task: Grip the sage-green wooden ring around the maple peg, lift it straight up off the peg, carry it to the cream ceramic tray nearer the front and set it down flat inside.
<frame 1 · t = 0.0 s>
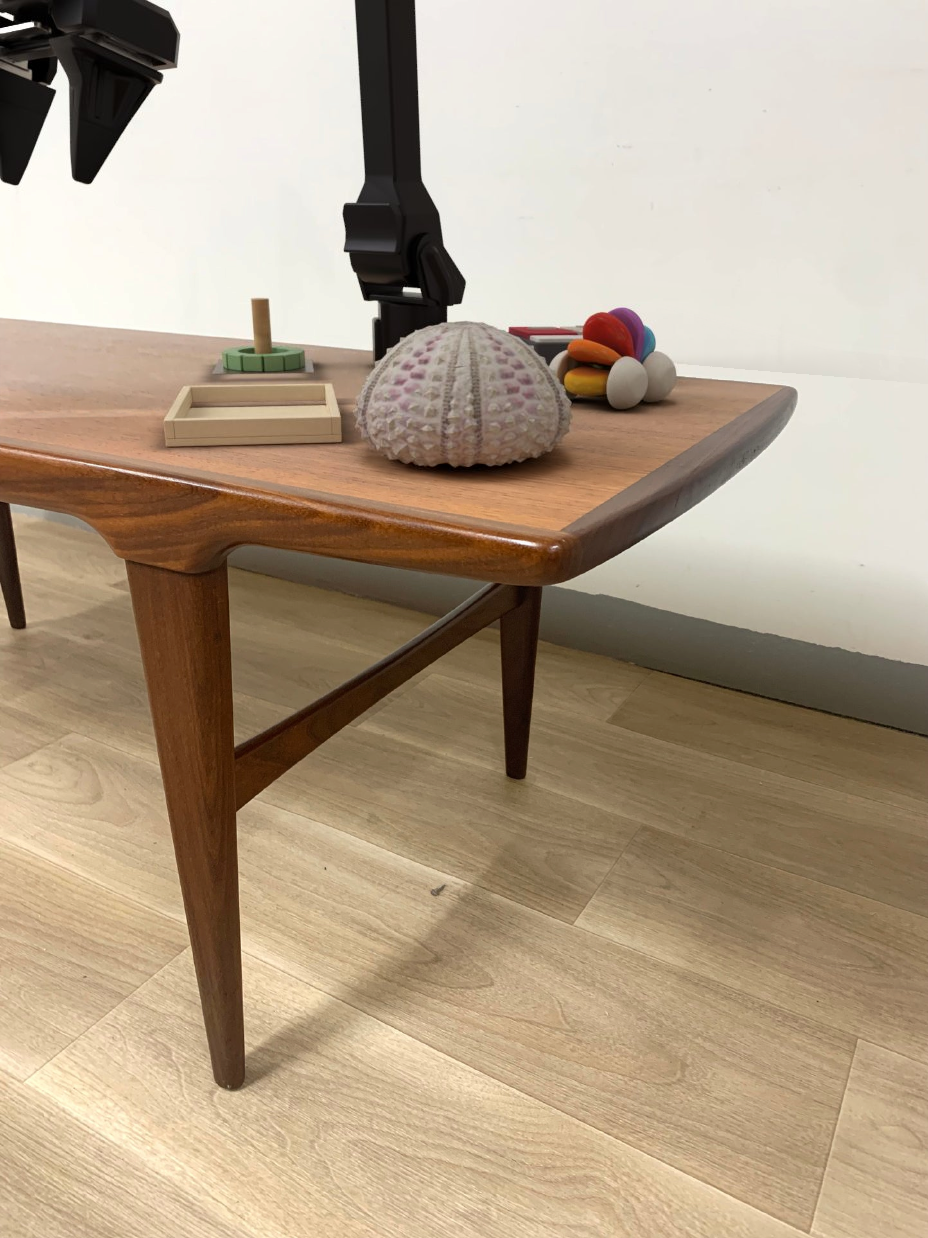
hand: (43, 183, 61), 15 cm above the table, tool pointing down, fingers open, 9 cm apart
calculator: (571, 374, 92), on the table
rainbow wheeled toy: (609, 403, 78), on the table
ring: (264, 365, 89), point 1 cm above the table, touching peg stand
tray: (258, 423, 68), on the table
sea urchin shell: (463, 457, 60), on the table
peg stand: (265, 372, 90), on the table
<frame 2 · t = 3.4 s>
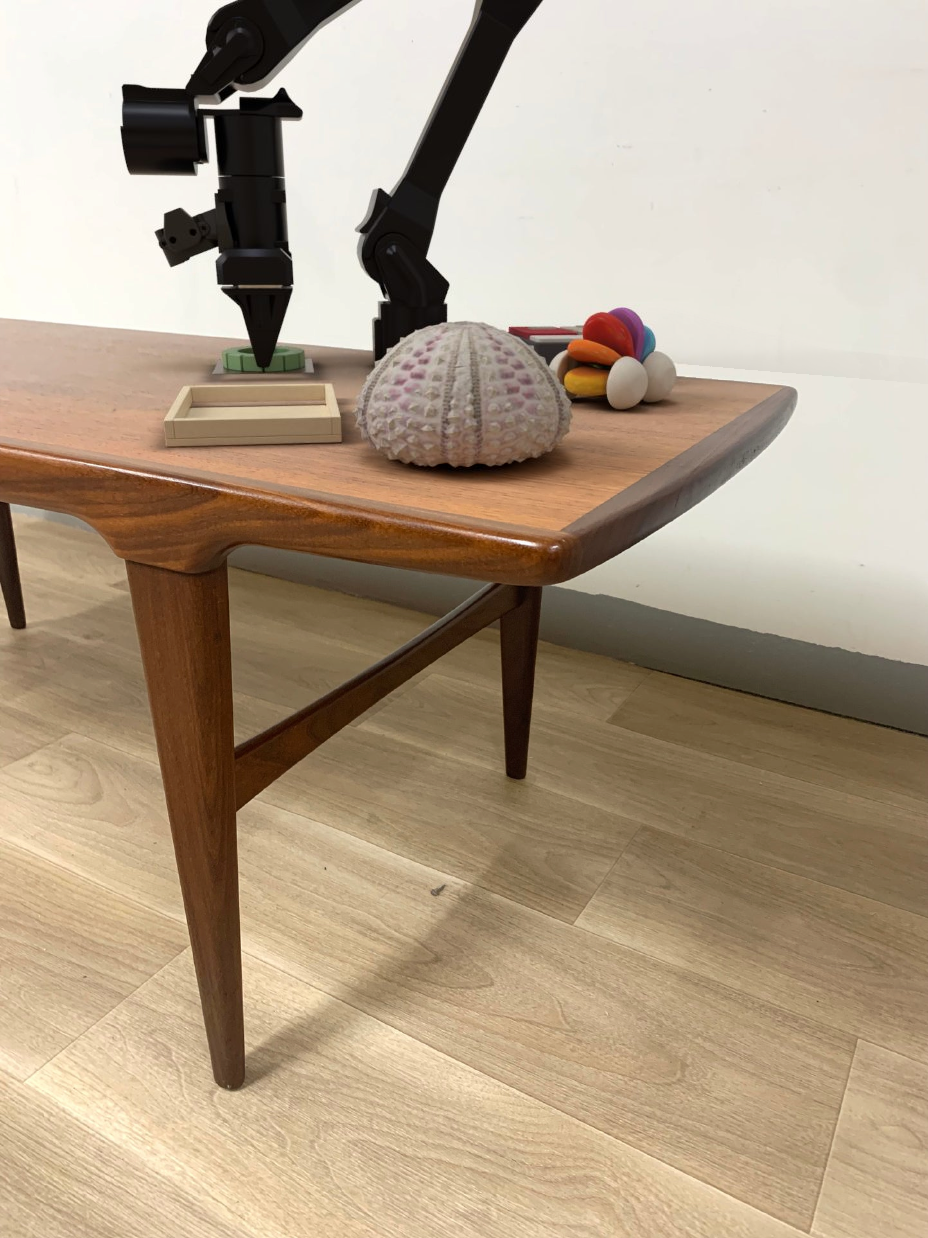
hand: (264, 360, 89), 1 cm above the table, tool pointing down, fingers closed on ring, 7 cm apart
ring: (264, 365, 89), point 1 cm above the table, touching gripper, peg stand
everything else where it was.
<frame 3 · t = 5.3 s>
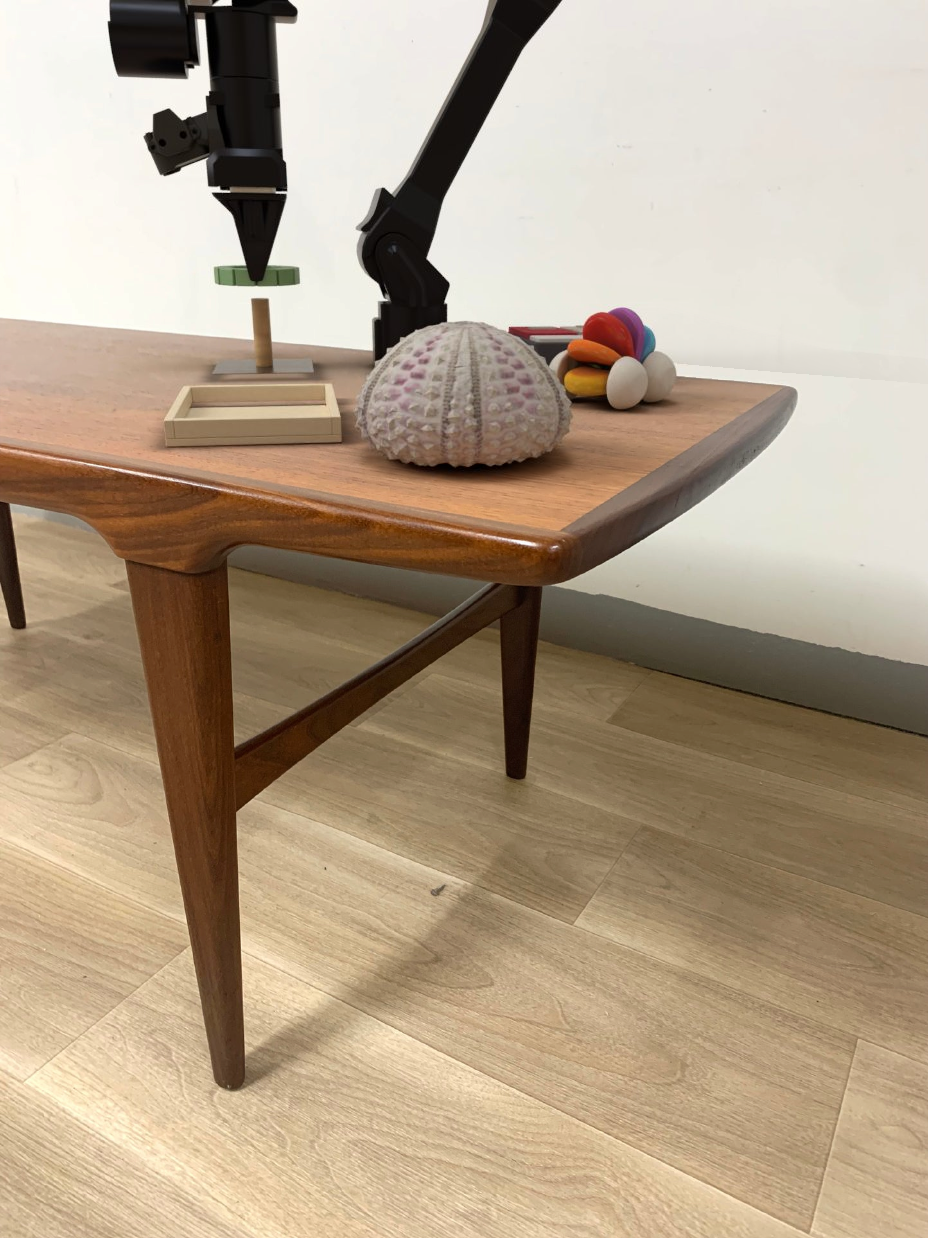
hand: (257, 278, 86), 8 cm above the table, tool pointing down, fingers closed on ring, 7 cm apart
ring: (257, 283, 86), point 8 cm above the table, touching gripper
everything else where it was.
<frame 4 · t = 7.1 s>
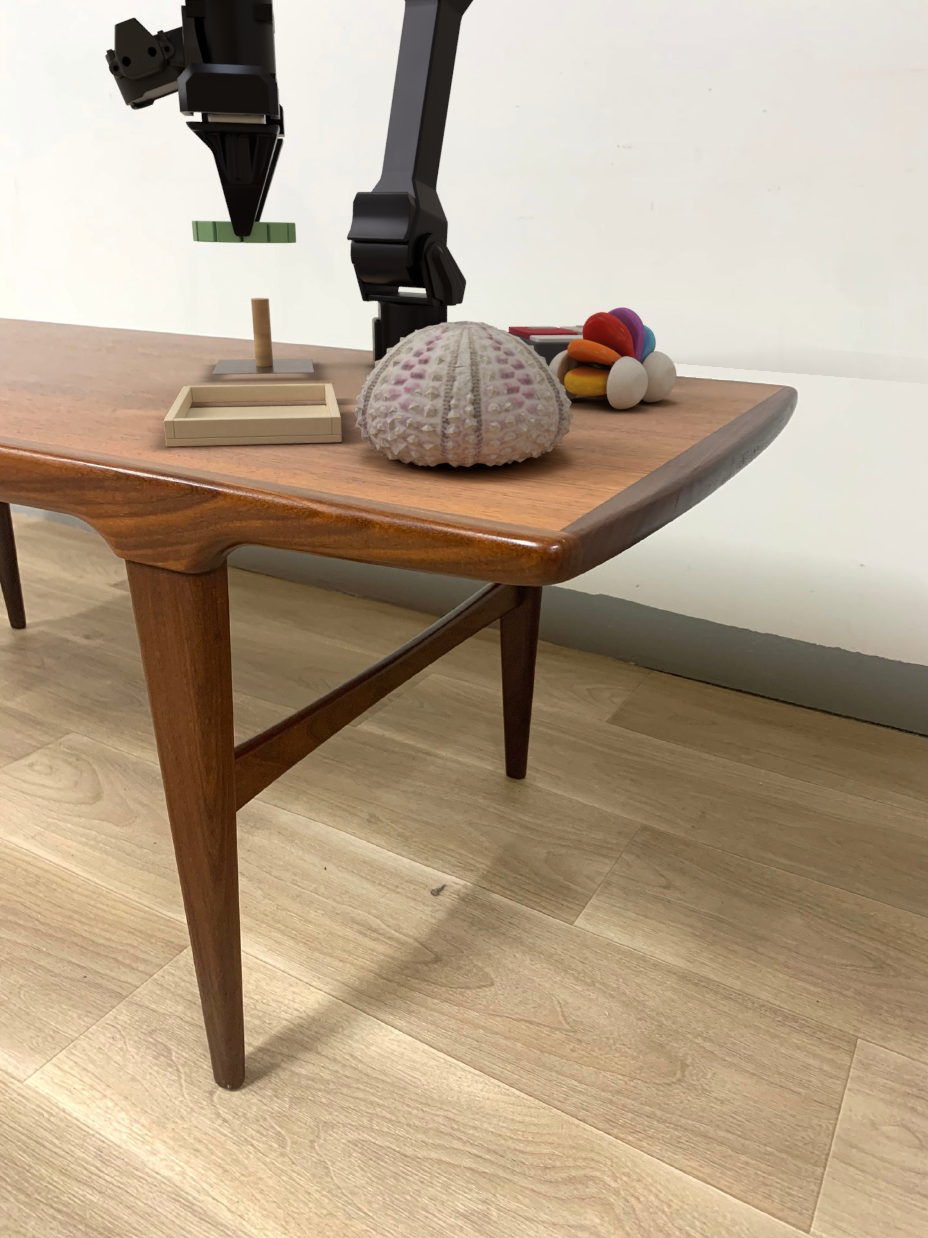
hand: (245, 235, 72), 12 cm above the table, tool pointing down, fingers closed on ring, 7 cm apart
ring: (245, 241, 72), point 12 cm above the table, touching gripper
everything else where it was.
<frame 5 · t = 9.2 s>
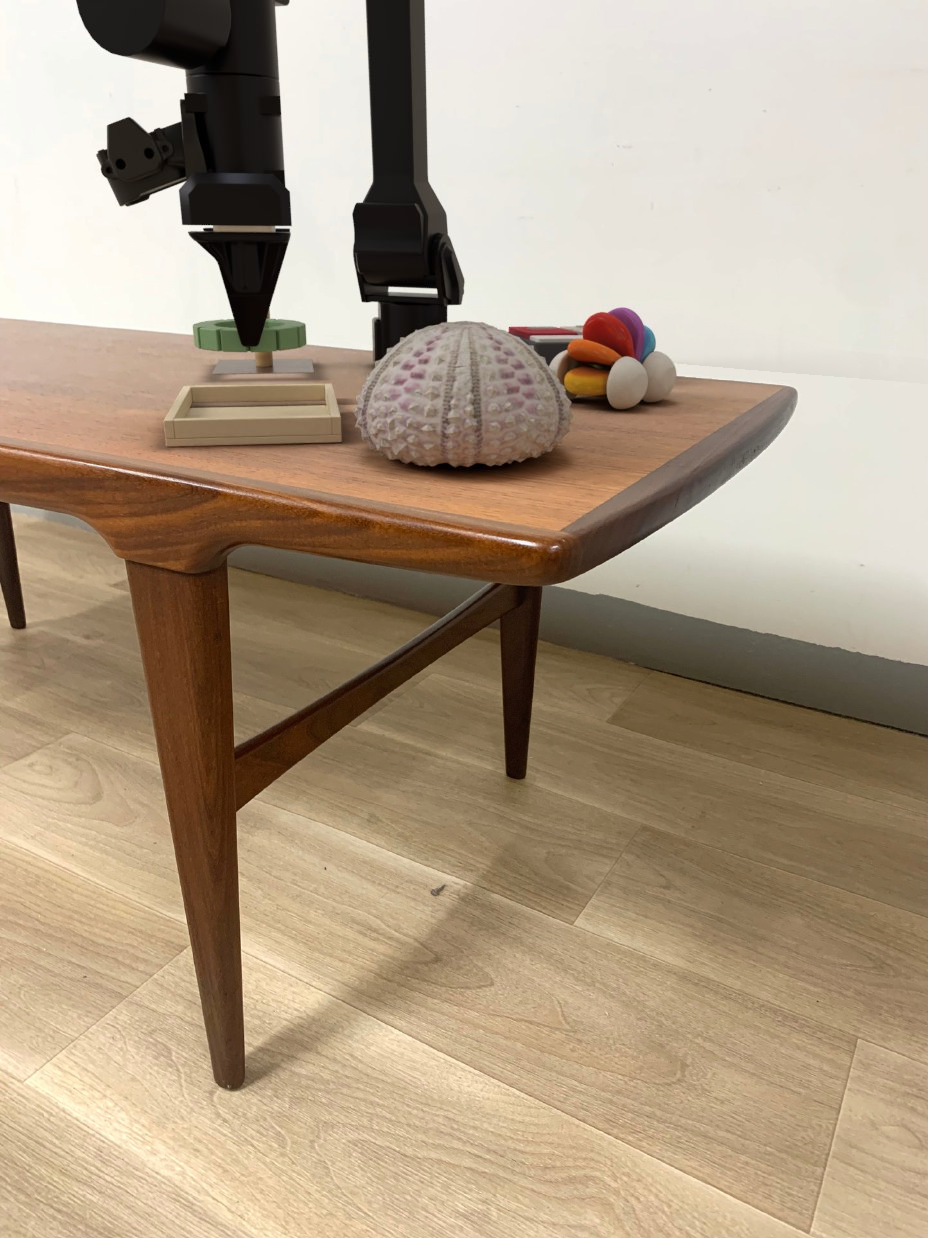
hand: (252, 338, 66), 6 cm above the table, tool pointing down, fingers closed on ring, 7 cm apart
ring: (251, 344, 66), point 5 cm above the table, touching gripper
everything else where it was.
when the fingers open (1 cm above the table, at t = 11.1 s): ring stays where it is, resting on tray.
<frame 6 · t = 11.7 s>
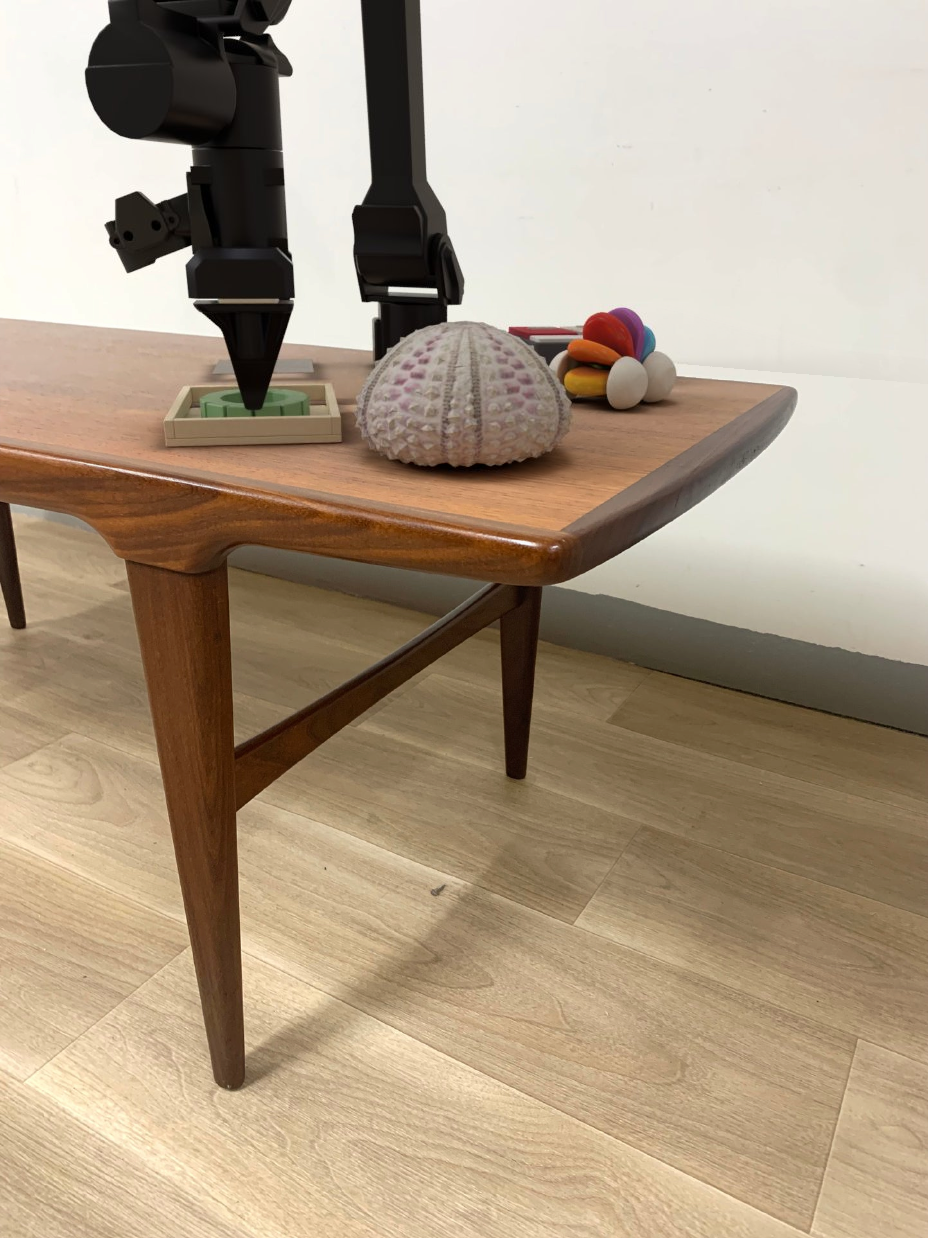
hand: (255, 397, 67), 2 cm above the table, tool pointing down, fingers open, 9 cm apart
ring: (256, 416, 68), resting on tray
everything else where it was.
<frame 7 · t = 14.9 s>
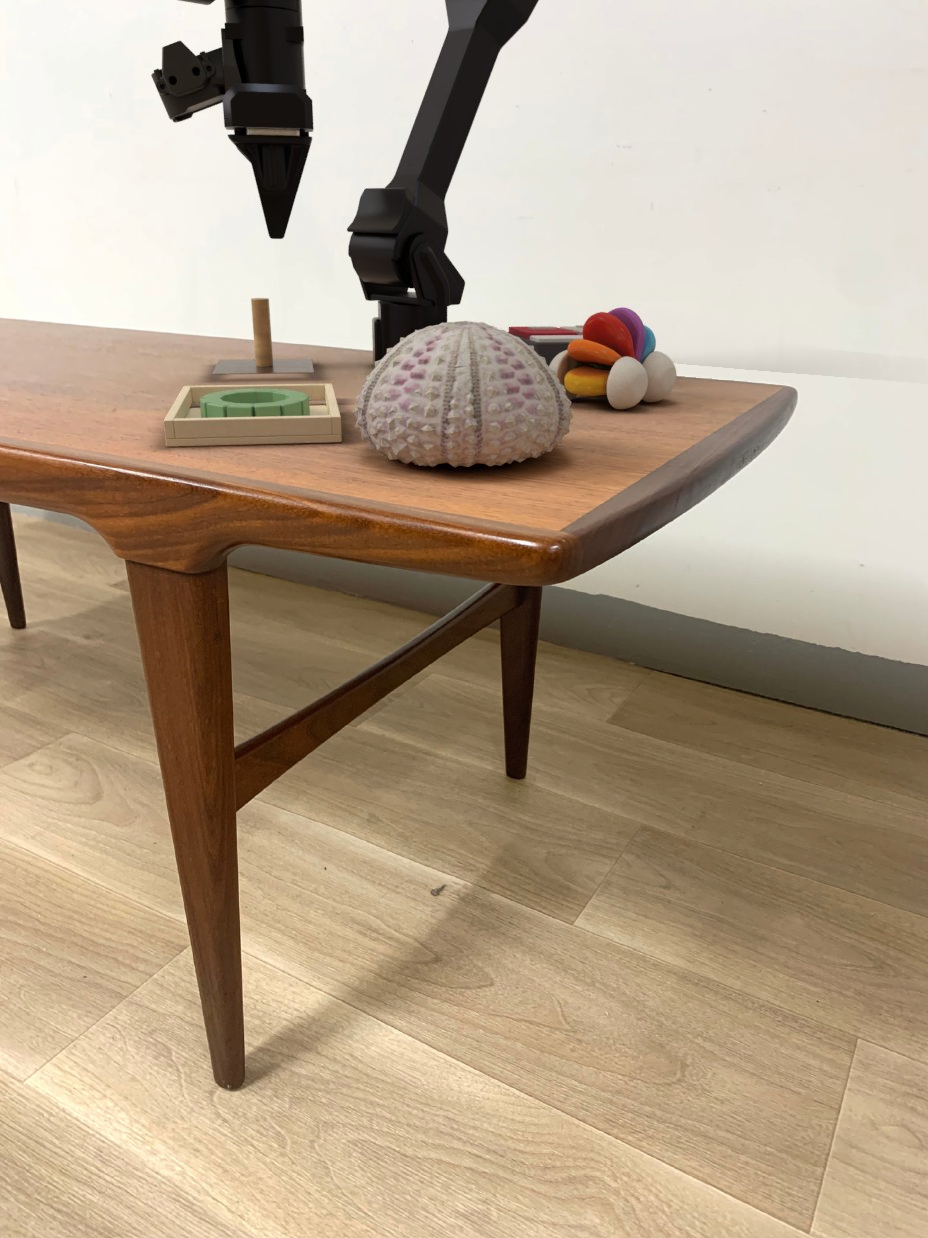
hand: (277, 237, 78), 12 cm above the table, tool pointing down, fingers open, 9 cm apart
nothing on the table moved.
at the end: ring inside the target area in the tray (0.1 cm from its centre), point 0.5 cm above the tray's base; ring tilted 0°; ring moved 24.0 cm from its start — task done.
